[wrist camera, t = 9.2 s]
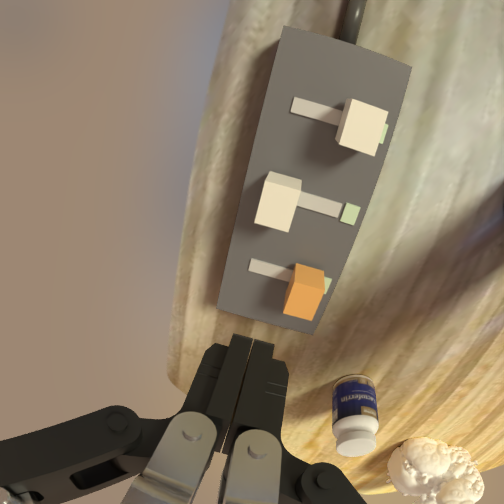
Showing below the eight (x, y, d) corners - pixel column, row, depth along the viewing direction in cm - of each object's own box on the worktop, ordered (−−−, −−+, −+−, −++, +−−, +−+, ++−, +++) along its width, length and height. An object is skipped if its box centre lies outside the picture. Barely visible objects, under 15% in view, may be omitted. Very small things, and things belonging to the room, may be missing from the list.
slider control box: (301, -22, 19) (300, -38, 16) (413, 13, 19) (426, 3, 16) (224, 289, 34) (215, 309, 31) (313, 313, 34) (312, 336, 31)
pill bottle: (377, 371, 37) (386, 435, 28) (369, 398, 39) (375, 457, 31) (334, 372, 38) (335, 438, 29) (330, 398, 40) (329, 459, 32)
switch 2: (285, 292, 29) (282, 313, 26) (296, 263, 27) (294, 281, 24) (311, 300, 29) (311, 320, 26) (323, 270, 27) (325, 290, 24)
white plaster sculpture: (391, 474, 34) (482, 518, 24) (433, 391, 48) (507, 431, 37) (347, 505, 44) (421, 542, 34) (392, 437, 58) (455, 472, 47)
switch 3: (334, 138, 22) (338, 144, 19) (346, 98, 20) (352, 98, 18) (366, 149, 22) (374, 156, 19) (378, 110, 20) (388, 111, 18)
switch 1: (259, 208, 25) (254, 222, 23) (269, 170, 24) (265, 180, 21) (290, 217, 25) (288, 232, 23) (301, 179, 24) (300, 190, 21)
